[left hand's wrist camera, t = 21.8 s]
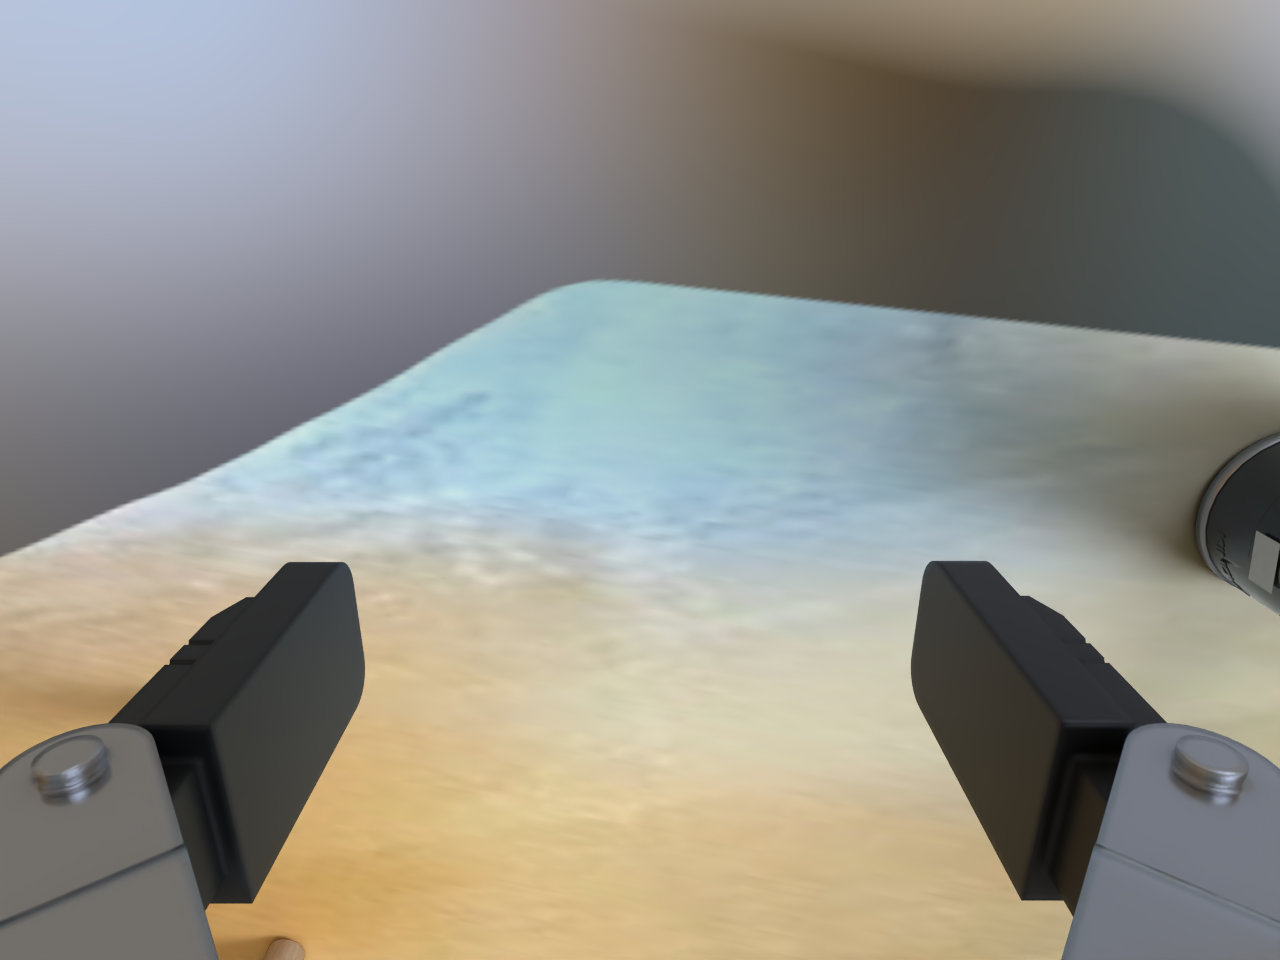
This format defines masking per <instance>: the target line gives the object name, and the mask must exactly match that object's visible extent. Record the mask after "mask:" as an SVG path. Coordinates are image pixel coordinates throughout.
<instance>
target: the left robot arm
mask: <svg viewBox="0 0 1280 960" xmlns="http://www.w3.org/2000/svg"><path fill="white" fill-rule="evenodd" d="M1196 541H1197V545H1198V549H1199V552H1200V554H1201V556H1202V558H1203V560H1204V562H1205V563H1206V564H1207V566H1208V567H1209V568H1210V569H1211V570H1212V571H1213V572H1214V573H1215V574H1216V575H1218V576H1219V577H1220V578H1222V579H1223V580H1225V581H1226V582H1228V583H1229V584H1231V585H1233V586H1235V587H1237V588H1239V589H1240V590H1241V591H1243V592H1244V593H1246V594H1247V595H1249V596H1252V597H1253V598H1254V599H1256V600H1257V601H1259V602H1260V603H1262V604H1263V605H1265V606H1266V607H1268V608H1269V609H1270V610H1272V611H1273V612H1275V613H1276V614H1277V615H1279V616H1280V433H1276V434H1274V435H1271V436H1269V437H1266V438H1264V439H1262V440H1260V441H1258V442H1256V443H1254V444H1253V445H1251V446H1249V447H1248V448H1246V449H1245V450H1243V451H1242V452H1241V453H1239V454H1238V455H1237V456H1235V457H1234V458H1233V459H1232V460H1231V461H1230V462H1229V463H1228V464H1227V465H1226V466H1225V467H1224V468H1223V469H1222V470H1221V471H1220V472H1219V473H1218V475H1217V476H1216V477H1215V478H1214V480H1213V481H1212V483H1211V484H1210V486H1209V487H1208V489H1207V491H1206V493H1205V495H1204V497H1203V499H1202V501H1201V504H1200V507H1199V510H1198V514H1197V519H1196ZM364 678H365V660H364V652H363V645H362V639H361V632H360V625H359V618H358V611H357V604H356V597H355V590H354V583H353V577H352V574H351V571H350V569H349V567H348V565H347V564H346V563H344V562H289V563H286V564H285V565H284V566H283V567H282V568H281V569H280V570H279V571H278V572H277V573H276V574H275V575H274V577H273V578H272V579H271V580H270V581H269V582H268V583H267V584H266V585H265V586H264V587H263V589H262V590H261V591H260V592H259V593H258V594H257V595H256V596H255V597H246V598H244V599H242V600H241V601H239V602H237V603H235V604H234V605H232V606H230V607H228V608H227V609H225V610H223V611H221V612H220V613H218V614H216V615H214V616H213V617H211V618H210V619H209V620H208V621H207V622H206V623H205V624H204V625H203V626H202V627H201V628H200V629H199V630H198V632H197V633H196V634H195V635H194V636H193V637H192V638H191V639H190V640H189V645H184V646H183V647H182V648H181V649H180V650H179V651H178V652H177V653H176V654H175V655H174V656H173V657H172V658H171V659H170V664H169V665H164V666H163V667H162V668H161V669H160V670H159V671H158V672H157V673H156V675H155V676H154V677H153V678H152V679H151V680H150V681H149V682H148V683H147V684H146V685H145V686H144V687H143V688H142V689H141V690H140V691H139V692H138V693H137V694H136V695H135V696H134V697H133V698H132V699H131V700H130V701H129V702H128V703H127V704H126V705H125V706H124V707H123V708H122V709H121V710H120V711H119V712H118V713H117V714H116V715H115V716H114V718H113V719H112V720H111V721H110V722H109V723H107V724H99V725H93V726H88V727H83V728H79V729H76V730H72V731H69V732H66V733H63V734H60V735H57V736H55V737H52V738H50V739H48V740H46V741H43V742H41V743H39V744H37V745H35V746H33V747H31V748H30V749H28V750H26V751H24V752H23V753H21V754H20V755H18V756H17V757H15V758H14V759H12V760H11V761H10V762H8V763H7V764H6V765H5V766H3V767H2V768H1V769H0V960H219V959H218V956H217V952H216V949H215V945H214V942H213V938H212V935H211V931H210V928H209V924H208V921H207V917H206V914H205V910H206V909H207V907H208V905H209V903H253V901H254V899H255V897H256V895H257V893H258V892H259V890H260V888H261V886H262V884H263V882H264V880H265V879H266V877H267V875H268V873H269V871H270V869H271V867H272V865H273V864H274V862H275V860H276V858H277V856H278V854H279V852H280V850H281V849H282V847H283V845H284V843H285V841H286V839H287V837H288V836H289V834H290V832H291V830H292V828H293V826H294V824H295V822H296V821H297V819H298V817H299V815H300V813H301V811H302V809H303V807H304V806H305V804H306V802H307V800H308V798H309V796H310V794H311V793H312V791H313V789H314V787H315V785H316V783H317V781H318V779H319V778H320V776H321V774H322V772H323V770H324V768H325V766H326V764H327V763H328V761H329V759H330V757H331V755H332V753H333V751H334V750H335V748H336V746H337V744H338V742H339V740H340V738H341V736H342V735H343V733H344V731H345V729H346V727H347V725H348V723H349V722H350V720H351V718H352V716H353V714H354V712H355V710H356V708H357V706H358V704H359V702H360V699H361V695H362V691H363V686H364ZM911 678H912V686H913V691H914V694H915V698H916V701H917V703H918V705H919V707H920V709H921V711H922V713H923V715H924V717H925V719H926V721H927V723H928V724H929V726H930V728H931V730H932V732H933V734H934V736H935V738H936V740H937V741H938V743H939V745H940V747H941V749H942V751H943V753H944V755H945V757H946V758H947V760H948V762H949V764H950V766H951V768H952V770H953V772H954V774H955V775H956V777H957V779H958V781H959V783H960V785H961V787H962V789H963V791H964V793H965V794H966V796H967V798H968V800H969V802H970V804H971V806H972V808H973V810H974V811H975V813H976V815H977V817H978V819H979V821H980V823H981V825H982V827H983V828H984V830H985V832H986V834H987V836H988V838H989V840H990V842H991V844H992V845H993V847H994V849H995V851H996V853H997V855H998V857H999V859H1000V861H1001V863H1002V864H1003V866H1004V868H1005V870H1006V872H1007V874H1008V876H1009V878H1010V880H1011V881H1012V883H1013V885H1014V887H1015V889H1016V891H1017V893H1018V895H1019V897H1020V898H1021V900H1064V902H1065V903H1066V905H1067V907H1068V909H1069V910H1070V912H1071V914H1072V915H1073V921H1072V924H1071V928H1070V931H1069V935H1068V938H1067V942H1066V945H1065V949H1064V952H1063V956H1062V959H1061V960H1280V769H1279V768H1278V767H1277V766H1275V765H1274V764H1273V763H1272V762H1270V761H1269V760H1268V759H1266V758H1265V757H1263V756H1262V755H1260V754H1259V753H1257V752H1256V751H1254V750H1252V749H1250V748H1249V747H1247V746H1245V745H1243V744H1241V743H1239V742H1237V741H1234V740H1232V739H1230V738H1228V737H1225V736H1223V735H1220V734H1217V733H1214V732H1211V731H1208V730H1204V729H1201V728H1197V727H1192V726H1187V725H1181V724H1173V723H1167V722H1166V721H1165V720H1164V719H1163V718H1162V717H1161V716H1160V715H1159V714H1158V713H1157V712H1156V711H1155V710H1154V709H1153V708H1152V707H1151V706H1150V705H1149V704H1148V703H1147V702H1146V701H1145V700H1144V699H1143V698H1142V697H1141V696H1140V695H1139V693H1138V692H1137V691H1136V690H1135V689H1134V688H1133V687H1132V686H1131V685H1130V684H1129V683H1128V682H1127V681H1126V680H1125V679H1124V678H1123V677H1122V676H1121V675H1120V674H1119V673H1118V672H1117V671H1116V670H1115V669H1114V668H1113V667H1112V666H1111V665H1110V664H1109V663H1105V662H1104V657H1103V656H1102V655H1101V654H1100V653H1099V652H1098V651H1097V650H1096V649H1095V648H1094V647H1093V646H1092V645H1091V644H1090V643H1086V642H1085V638H1084V637H1083V636H1082V635H1081V634H1080V633H1079V631H1078V630H1077V629H1076V628H1075V627H1074V626H1073V625H1072V624H1071V623H1070V622H1069V621H1068V620H1067V619H1066V618H1065V617H1064V616H1063V615H1061V614H1059V613H1058V612H1056V611H1054V610H1052V609H1051V608H1049V607H1047V606H1045V605H1044V604H1042V603H1040V602H1038V601H1037V600H1035V599H1033V598H1031V597H1030V596H1020V595H1019V594H1018V593H1017V592H1016V591H1015V590H1014V588H1013V587H1012V586H1011V585H1010V584H1009V583H1008V582H1007V581H1006V580H1005V579H1004V577H1003V576H1002V575H1001V574H1000V573H999V572H998V571H997V570H996V569H995V568H994V566H993V565H992V564H990V563H989V562H987V561H931V562H930V563H929V564H928V565H927V567H926V569H925V571H924V575H923V580H922V586H921V593H920V600H919V607H918V615H917V622H916V629H915V636H914V643H913V650H912V657H911Z"/></svg>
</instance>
